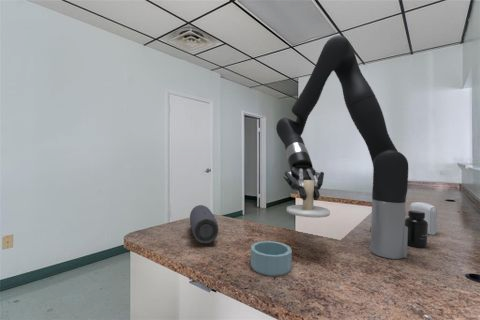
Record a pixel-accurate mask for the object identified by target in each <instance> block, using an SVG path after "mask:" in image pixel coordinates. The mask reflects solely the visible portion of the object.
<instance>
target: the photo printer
mask: <svg viewBox="0 0 480 320" xmlns="http://www.w3.org/2000/svg"><path fill="white" fill-rule="evenodd" d="M410 210H413V211H421V212H424V213H425V218H424V220H426V221H427V223H428V235H431V236H434V235H437V227H438V226H437V225H438V224H437V223H438V222H437V221H438V220H437V219H438V208H436V206H434V205H432V204H429V203H427V202H421V201H416V202H412V203H410V205H409V211H410Z"/></svg>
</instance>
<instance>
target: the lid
mask: <svg viewBox="0 0 480 320" xmlns="http://www.w3.org/2000/svg"><path fill="white" fill-rule="evenodd" d="M303 187H304V188H305V192H306V195H307V198H306V200H302V204H292V205H289V206H287V207H286V212H287V213H288V214H290V215H293V216H297V217H303V218H311V219H312V218H313V219H314V218H315V219H317V218H326V217H330V215H331V210H330V209H328V208H326V207H323V206H318V205H314V202H315V200H314V180H304V181H303Z"/></svg>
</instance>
